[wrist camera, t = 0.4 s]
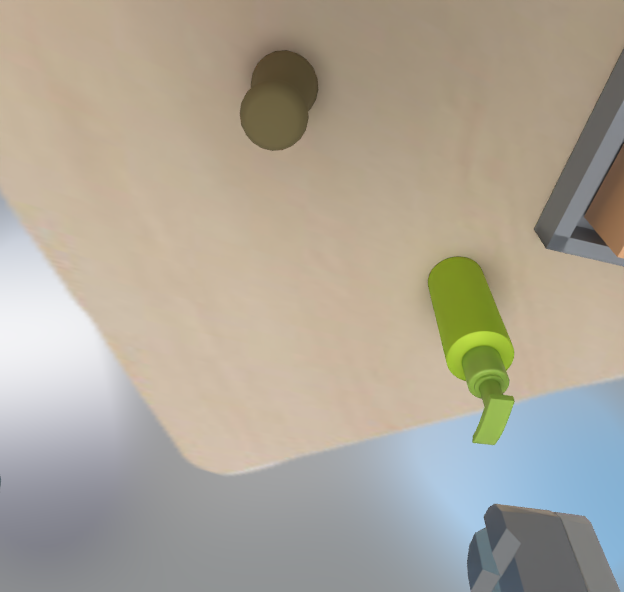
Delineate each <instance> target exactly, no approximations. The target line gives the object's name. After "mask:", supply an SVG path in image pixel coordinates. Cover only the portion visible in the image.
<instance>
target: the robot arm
mask: <svg viewBox="0 0 624 592" xmlns="http://www.w3.org/2000/svg"><path fill="white" fill-rule="evenodd" d="M0 485H1V477H0ZM484 520H485V525H486V528H484V529H482V530H480V531H478V532H476V533H475V534H474V536H473V539H472V541H471V543H470V545H469V552H468V560H467V568H468V579H469V584H470V590H471V592H620V590H619V587H618V585H617V583H616V581H615V578H614V576H613V573H612V571H611V569H610V567H609V564H608V562H607V559H606V557H605V555H604V552H603V550H602V548H601V545H600V543H599V541H598V538H597V536H596V534H595V531H594V529H593V526H592V524H591V522H590V521H589V520H588V519H587V518H586V517H585V516H580V515H573V514H566V513H558V512H551V511H549V510H540V509H532V508H525V507H516V506H508V505H500V504H493V505H492V506H490V507H489V508H488V510H487V511H486V514H485V515H484Z"/></svg>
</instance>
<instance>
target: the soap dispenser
mask: <svg viewBox="0 0 624 592" xmlns="http://www.w3.org/2000/svg"><path fill="white" fill-rule="evenodd" d="M428 287H429V291H430V296H431V300H432V304H433V308H434V312H435V316H436V321H437V325H438V329H439V333H440V337H441V341H442V346H443V350H444V354H445V358H446V362H447V366H448V368H449V370H450V371H451V373H452V374H453V375H455V376H456V377H457V378H459V379H461V380H464V381H467V385H468V388H469V391H470V392H471V393H472V394H473V395H474V396H475V397H478V398H481V399H482V400H483V403H484V407H485V408H484V410H483V413H482V416H481V419H480V422H479V424H478V427H477V429H476V431H475V433H474V435H473V441H472V442H473V443H479V444H489V445H495V444H496V442H497V441H498V440H499V438H500V436H501V435H502V432H503V431H504V428H505V426H506V423H507V421H508V418H509V416H510V413H511V410H512V407H513V404H514V398H513V396H507V395H503V393H504V392H505V391H506V390H507V388H508V386H509V378H508V375H507V372H506V370H507V369H508V368H509V367H510V365H511V364H512V361H513V358H514V348H513V346H512V343H511V341H510V338H509V336H508V333H507V331H506V328H505V326H504V323H503V321H502V318H501V316H500V314H499V311H498V309H497V306H496V304H495V301H494V299H493V296H492V294H491V291H490V289H489V287H488V284H487V282H486V279H485V277H484V274H483V272H482V269H481V268H480V266H479V265H478V264H477V263H476V262H475V261H473V260H471V259H469V258H465V257H452V258H448V259H445V260H443V261H441V262H440V263H438V264H437V265H436V266H435V267H434V268H433V269H432V271H431V273H430V275H429V278H428Z"/></svg>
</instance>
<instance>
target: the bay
mask: <svg viewBox="0 0 624 592" xmlns="http://www.w3.org/2000/svg"><path fill="white" fill-rule="evenodd" d="M623 144H624V49H623V51H622V53H621V55H620V57H619V59H618V61H617V63H616V65H615V67H614V69H613V71H612V73H611V75H610V77H609V79H608V81H607V83H606V85H605V87H604V89H603V91H602V93H601V95H600V97H599V99H598V101H597V103H596V106H595V108H594V110H593V112H592V114H591V116H590V118H589V120H588V122H587V124H586V126H585V128H584V130H583V132H582V134H581V136H580V138H579V140H578V142H577V144H576V146H575V148H574V150H573V152H572V154H571V156H570V158H569V160H568V162H567V164H566V166H565V168H564V170H563V172H562V174H561V176H560V178H559V180H558V182H557V184H556V186H555V188H554V190H553V192H552V194H551V196H550V198H549V200H548V202H547V204H546V206H545V208H544V210H543V212H542V214H541V216H540V218H539V220H538V222H537V224H536V226H535V228H534V230H535V232H536V233H537V235H538V237H539V238H540V240H541V241H542V243H543V244H544V246H545V248H546V249H550V250H554V251H559V252H563V253H567V254H572V255H576V256H580V257H585V258H589V259H593V260H598V261H602V262H607V263H611V264H615V265H620V266H624V258H619V257H617V256H616V255H615V254H614V253H613V251H612V250H611V249H610V248H609V247H608V245H607V244H606V243H605V242H604V240H603V239H602V238H601V237H600V236H599V234H598V233H597V232H596V231H595V230H594V228H593V227H592V226H591V225H590V224H589V222H588V221H587V220H586V219H585V218H584V216H585V214H586V212H587V210H588V208H589V207H590V205H591V203H592V201H593V199H594V197H595V196H596V194H597V192H598V190H599V188H600V186H601V185H602V183H603V181H604V179H605V177H606V175H607V174H608V172H609V170H610V168H611V166H612V164H613V163H614V161H615V159H616V157H617V155H618V153H619V152H620V150H621V148H622V146H623Z"/></svg>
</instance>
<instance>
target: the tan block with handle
mask: <svg viewBox="0 0 624 592" xmlns="http://www.w3.org/2000/svg"><path fill="white" fill-rule="evenodd" d="M584 218H585V219H586V220H587V221H588V222H589V224H590V225H591V226H592V227H593V228H594V230H595V231H596V232H597V233H598V234H599V236H600V237H601V238H602V239H603V240H604V242H605V243H606V244H607V245H608V247H609V248H610V249H611V250H612V251H613V253H614V254H615V255H616V256H617V257H619V258H624V144H623V146H622V148H621V150H620V152H619V153H618V155H617V157H616V159H615V161H614V163H613V164H612V166H611V168H610V170H609V172H608V174H607V175H606V177H605V179H604V181H603V183H602V185H601V186H600V188H599V190H598V192H597V194H596V196H595V197H594V199H593V201H592V203H591V205H590V207H589V208H588V210H587V212H586V214H585V216H584Z"/></svg>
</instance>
